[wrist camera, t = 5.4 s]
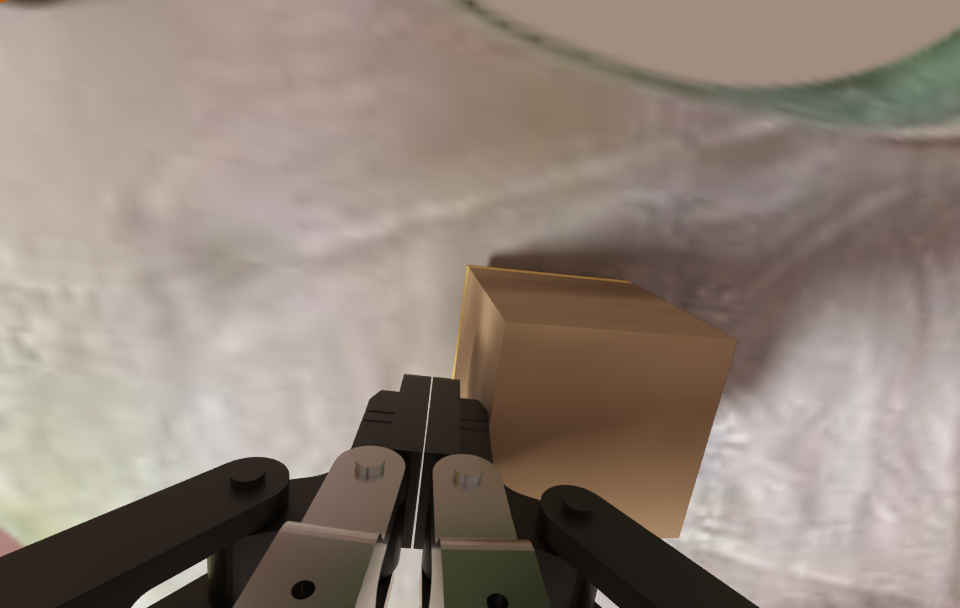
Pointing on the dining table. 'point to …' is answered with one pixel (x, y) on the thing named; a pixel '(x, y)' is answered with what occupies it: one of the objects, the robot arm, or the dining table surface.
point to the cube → (592, 387)
